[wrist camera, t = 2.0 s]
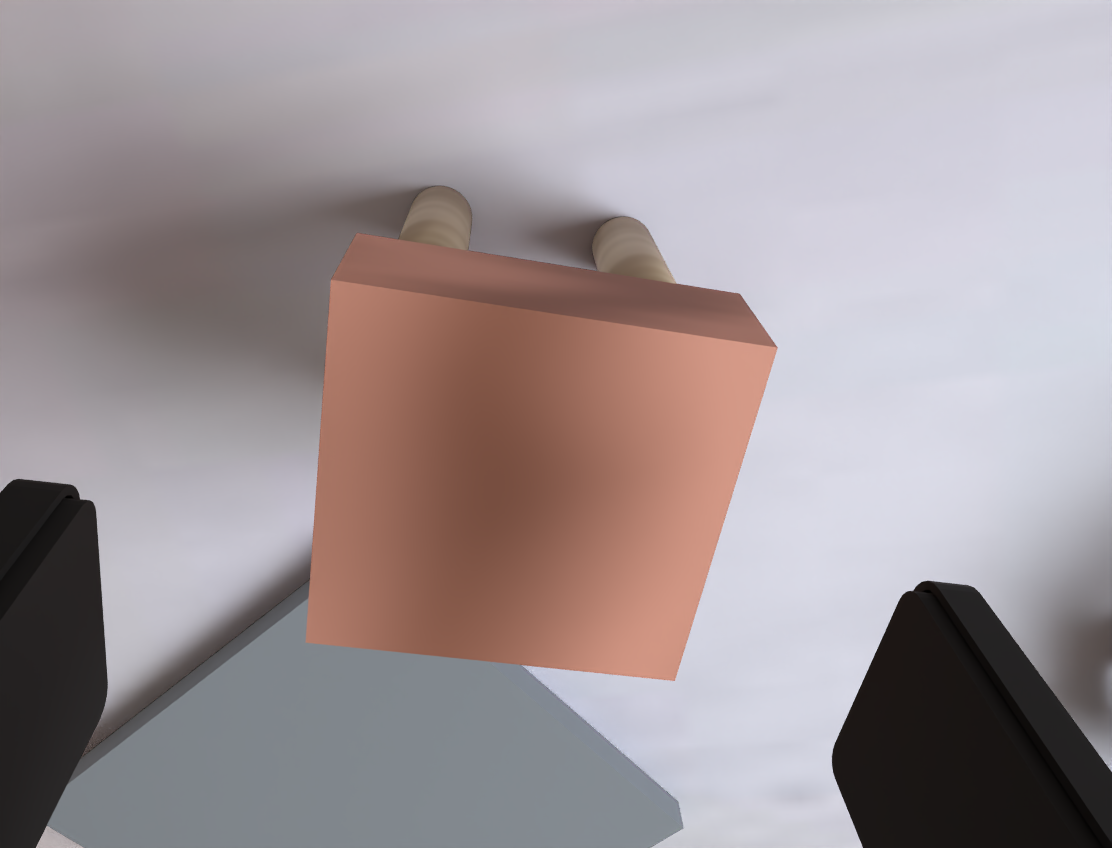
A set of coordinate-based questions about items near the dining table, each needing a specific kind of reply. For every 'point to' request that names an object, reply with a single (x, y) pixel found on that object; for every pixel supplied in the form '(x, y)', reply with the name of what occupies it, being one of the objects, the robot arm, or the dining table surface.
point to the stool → (525, 448)
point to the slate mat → (357, 757)
